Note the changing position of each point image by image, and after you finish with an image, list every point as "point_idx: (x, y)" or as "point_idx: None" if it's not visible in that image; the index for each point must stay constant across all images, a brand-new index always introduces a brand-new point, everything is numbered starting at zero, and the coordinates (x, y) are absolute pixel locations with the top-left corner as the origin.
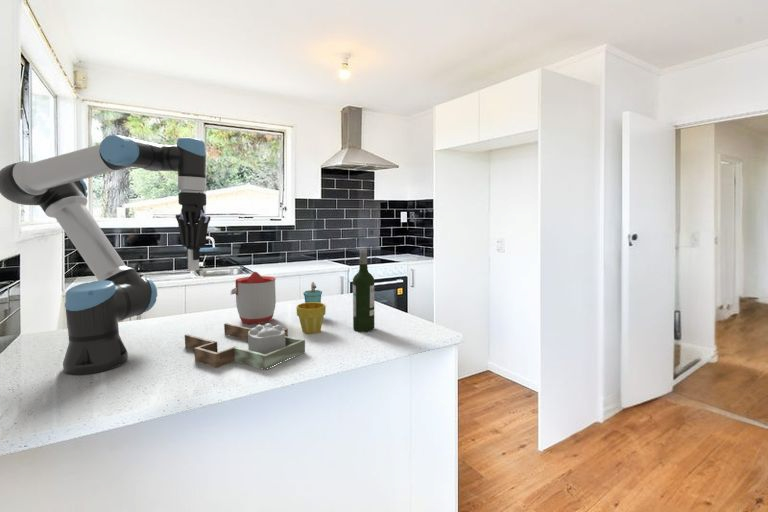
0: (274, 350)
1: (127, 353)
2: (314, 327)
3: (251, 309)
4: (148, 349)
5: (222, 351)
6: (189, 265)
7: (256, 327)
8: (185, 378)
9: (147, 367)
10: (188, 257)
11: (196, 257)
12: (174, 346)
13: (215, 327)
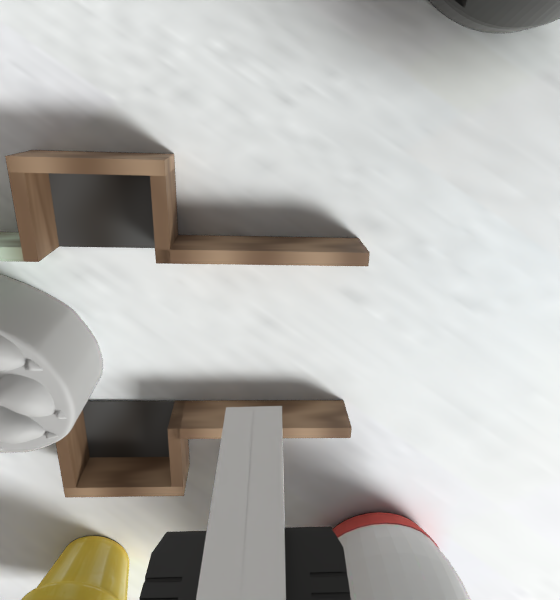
0: None
1: (452, 8)
2: (52, 566)
3: (348, 564)
4: (475, 142)
5: (18, 194)
6: (254, 445)
7: (17, 387)
8: (27, 9)
9: (279, 2)
10: (270, 529)
11: (148, 573)
12: (406, 220)
13: (452, 437)
